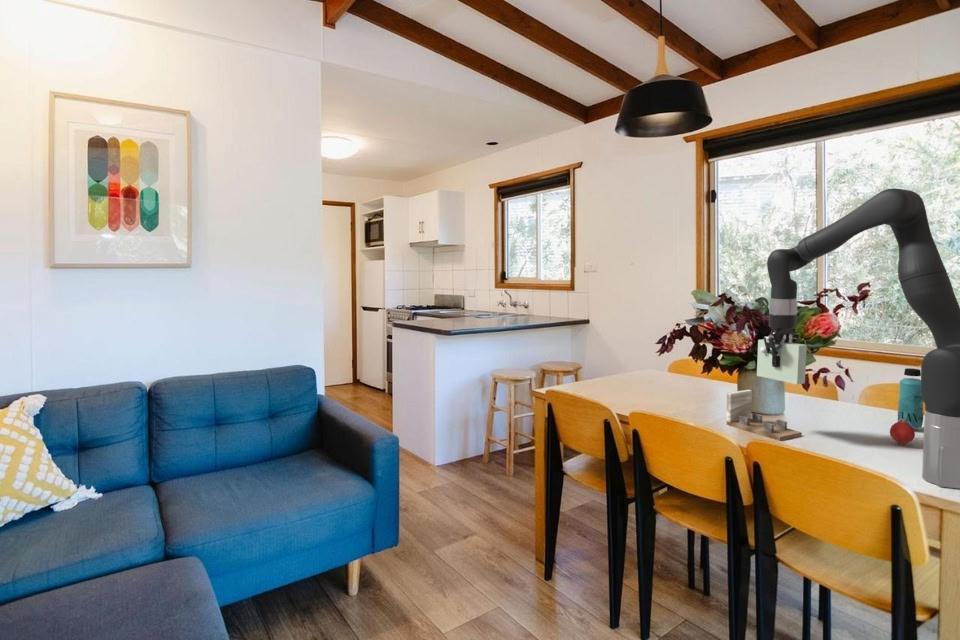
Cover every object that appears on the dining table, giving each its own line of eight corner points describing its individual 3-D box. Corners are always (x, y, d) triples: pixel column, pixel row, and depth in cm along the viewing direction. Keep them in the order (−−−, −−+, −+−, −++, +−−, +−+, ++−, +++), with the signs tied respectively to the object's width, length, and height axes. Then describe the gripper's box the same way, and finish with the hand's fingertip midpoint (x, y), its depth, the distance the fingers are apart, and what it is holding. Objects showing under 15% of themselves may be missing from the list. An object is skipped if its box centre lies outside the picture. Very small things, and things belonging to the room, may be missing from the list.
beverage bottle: (892, 428, 169) (894, 368, 168) (904, 425, 172) (907, 366, 170) (915, 433, 163) (917, 371, 161) (927, 430, 166) (930, 369, 164)
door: (804, 383, 159) (806, 344, 157) (794, 384, 157) (796, 346, 156) (764, 374, 171) (765, 339, 170) (754, 376, 170) (756, 340, 168)
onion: (889, 440, 157) (890, 415, 156) (914, 444, 153) (915, 417, 153) (889, 445, 152) (890, 419, 152) (914, 449, 149) (915, 422, 148)
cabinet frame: (801, 436, 164) (802, 401, 163) (779, 440, 160) (780, 405, 159) (747, 420, 182) (747, 389, 181) (726, 424, 178) (726, 392, 177)
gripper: (787, 310, 168) (784, 362, 170) (756, 313, 163) (754, 366, 165) (809, 312, 161) (806, 366, 163) (778, 315, 156) (775, 370, 158)
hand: (780, 366), depth 164 cm, fingers closed on door, 3 cm apart
